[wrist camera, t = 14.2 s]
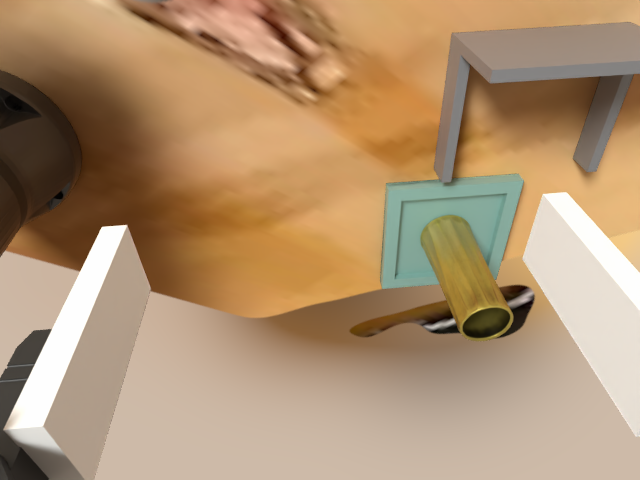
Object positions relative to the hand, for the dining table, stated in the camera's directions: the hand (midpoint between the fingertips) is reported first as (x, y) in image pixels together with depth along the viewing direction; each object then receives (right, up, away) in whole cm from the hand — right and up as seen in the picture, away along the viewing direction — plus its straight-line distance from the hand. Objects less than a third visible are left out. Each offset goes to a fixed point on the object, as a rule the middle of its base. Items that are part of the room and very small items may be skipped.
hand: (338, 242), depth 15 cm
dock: (+20, +14, +32) cm, 40 cm away
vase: (+14, +1, +41) cm, 43 cm away
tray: (+14, +1, +41) cm, 44 cm away
